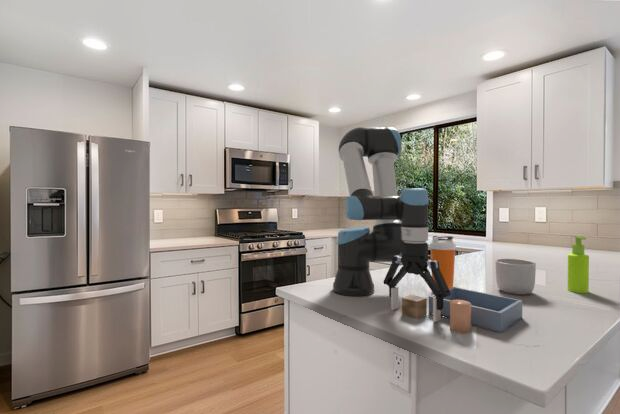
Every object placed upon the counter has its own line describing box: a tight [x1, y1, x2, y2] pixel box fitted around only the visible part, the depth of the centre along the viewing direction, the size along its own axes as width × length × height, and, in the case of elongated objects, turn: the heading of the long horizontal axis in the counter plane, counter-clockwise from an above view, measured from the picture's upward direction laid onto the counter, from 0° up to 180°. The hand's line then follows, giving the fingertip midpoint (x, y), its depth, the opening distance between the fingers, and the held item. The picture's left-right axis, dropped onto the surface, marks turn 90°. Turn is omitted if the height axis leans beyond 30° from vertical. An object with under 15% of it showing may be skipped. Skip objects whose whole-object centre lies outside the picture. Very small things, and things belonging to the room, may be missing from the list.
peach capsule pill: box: [449, 300, 472, 334], centre depth 86 cm, size 5×5×7 cm
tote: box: [428, 286, 523, 334], centre depth 96 cm, size 20×16×5 cm
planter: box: [495, 258, 537, 295], centre depth 120 cm, size 12×12×11 cm
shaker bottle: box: [429, 235, 457, 289], centre depth 122 cm, size 9×9×20 cm
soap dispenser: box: [567, 235, 590, 294], centre depth 119 cm, size 6×7×20 cm
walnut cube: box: [401, 294, 428, 320], centre depth 97 cm, size 5×5×5 cm
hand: (414, 314), depth 97 cm, fingers open, 13 cm apart
